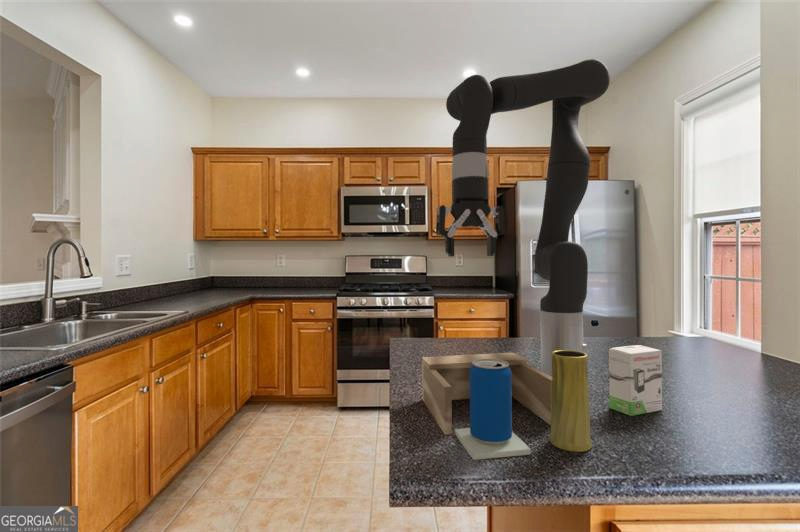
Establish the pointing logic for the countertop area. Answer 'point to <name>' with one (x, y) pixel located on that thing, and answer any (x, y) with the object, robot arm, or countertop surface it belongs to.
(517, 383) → the cubby
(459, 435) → the tile
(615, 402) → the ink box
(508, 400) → the beverage can
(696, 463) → the countertop surface
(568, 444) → the vase
